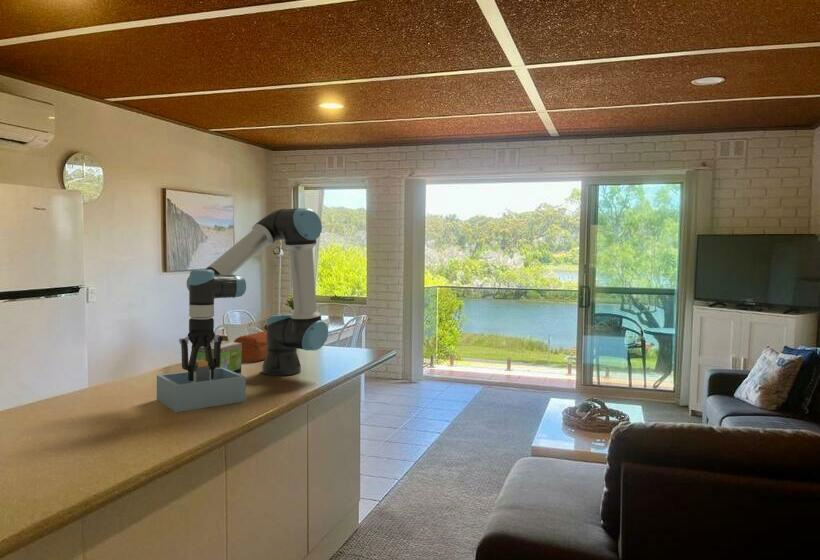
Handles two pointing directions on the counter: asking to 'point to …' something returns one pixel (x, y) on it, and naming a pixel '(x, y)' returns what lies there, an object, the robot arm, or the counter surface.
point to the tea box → (226, 355)
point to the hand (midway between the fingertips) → (200, 389)
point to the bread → (253, 346)
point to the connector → (202, 371)
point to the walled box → (200, 390)
